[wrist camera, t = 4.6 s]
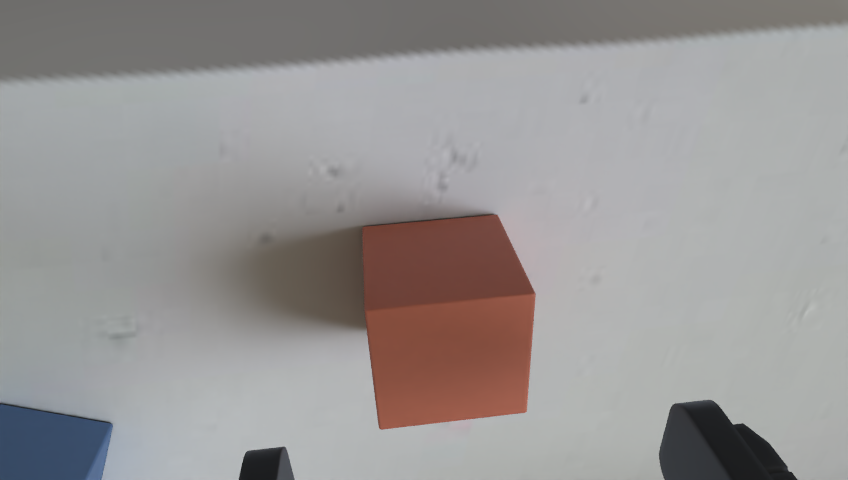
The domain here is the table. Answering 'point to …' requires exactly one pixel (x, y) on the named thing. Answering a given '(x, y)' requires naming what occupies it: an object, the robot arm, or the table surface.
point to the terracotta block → (446, 321)
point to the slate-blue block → (51, 446)
